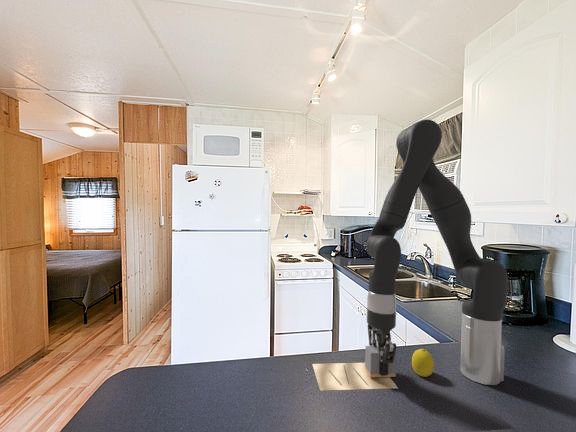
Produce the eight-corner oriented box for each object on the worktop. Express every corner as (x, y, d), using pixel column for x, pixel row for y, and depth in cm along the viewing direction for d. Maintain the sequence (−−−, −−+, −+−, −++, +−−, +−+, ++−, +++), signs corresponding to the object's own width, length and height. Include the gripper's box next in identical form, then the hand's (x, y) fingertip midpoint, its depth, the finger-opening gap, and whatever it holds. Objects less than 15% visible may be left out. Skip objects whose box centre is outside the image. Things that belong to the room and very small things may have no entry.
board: (378, 366, 81) (378, 362, 81) (397, 392, 69) (398, 387, 69) (312, 368, 80) (312, 363, 80) (320, 395, 68) (320, 390, 68)
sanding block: (389, 368, 77) (389, 345, 77) (395, 376, 73) (396, 352, 73) (365, 368, 77) (365, 345, 77) (370, 377, 73) (370, 353, 73)
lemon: (430, 373, 78) (431, 345, 78) (435, 385, 73) (436, 355, 73) (409, 370, 80) (410, 342, 80) (413, 381, 74) (413, 352, 74)
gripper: (407, 317, 68) (406, 385, 68) (383, 299, 82) (382, 356, 83) (378, 317, 68) (377, 386, 68) (359, 299, 82) (358, 356, 82)
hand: (380, 369), depth 75 cm, fingers closed on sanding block, 4 cm apart
